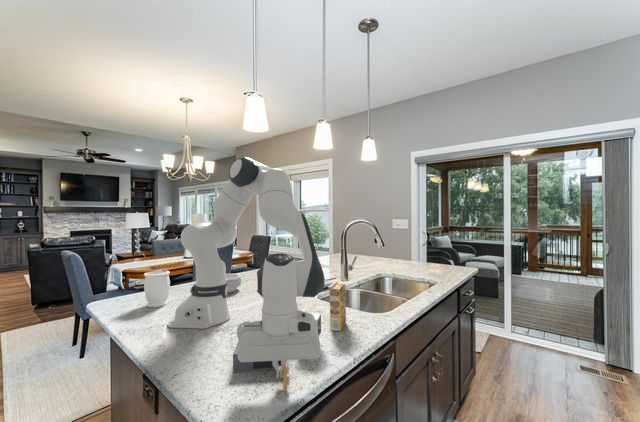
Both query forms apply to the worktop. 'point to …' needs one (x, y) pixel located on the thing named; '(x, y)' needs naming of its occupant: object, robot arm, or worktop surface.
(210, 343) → the worktop surface
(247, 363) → the grey knob box
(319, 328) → the security camera
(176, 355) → the worktop surface
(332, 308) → the candy box
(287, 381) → the door
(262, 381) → the worktop surface
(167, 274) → the jar
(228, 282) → the paper bowls
